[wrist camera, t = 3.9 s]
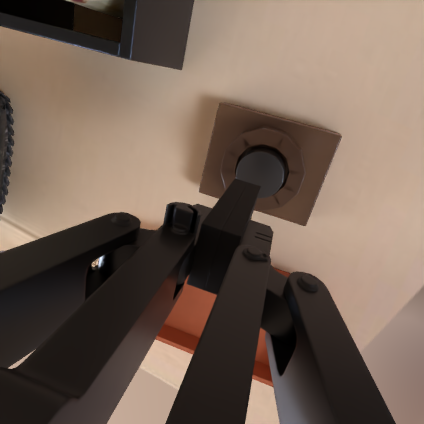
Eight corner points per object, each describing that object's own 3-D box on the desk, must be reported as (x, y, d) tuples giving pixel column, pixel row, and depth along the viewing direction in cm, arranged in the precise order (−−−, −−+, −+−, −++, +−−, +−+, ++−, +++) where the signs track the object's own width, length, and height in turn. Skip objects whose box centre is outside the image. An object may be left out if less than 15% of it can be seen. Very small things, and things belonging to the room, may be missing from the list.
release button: (291, 155, 24) (290, 159, 22) (276, 197, 25) (275, 204, 24) (246, 142, 24) (242, 145, 23) (234, 184, 26) (230, 190, 24)
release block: (339, 133, 25) (345, 139, 22) (305, 219, 28) (305, 235, 25) (223, 102, 27) (213, 103, 23) (203, 187, 30) (192, 198, 27)
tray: (320, 283, 30) (322, 301, 28) (280, 368, 35) (279, 389, 33) (159, 228, 33) (148, 239, 30) (144, 314, 38) (132, 330, 35)
